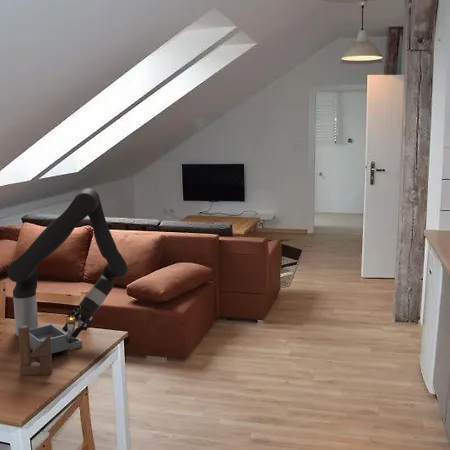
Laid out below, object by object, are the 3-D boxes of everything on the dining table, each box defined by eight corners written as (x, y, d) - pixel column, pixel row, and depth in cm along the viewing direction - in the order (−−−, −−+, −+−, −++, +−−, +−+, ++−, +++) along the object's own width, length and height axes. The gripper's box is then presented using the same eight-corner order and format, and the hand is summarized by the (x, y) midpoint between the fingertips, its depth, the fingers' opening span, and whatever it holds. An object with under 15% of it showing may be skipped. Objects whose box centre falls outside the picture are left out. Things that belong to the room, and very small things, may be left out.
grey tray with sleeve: (25, 351, 207) (24, 330, 206) (71, 338, 220) (69, 319, 218) (40, 363, 196) (39, 342, 195) (87, 349, 209) (86, 329, 207)
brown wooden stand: (50, 374, 188) (47, 327, 184) (19, 376, 187) (16, 328, 183) (52, 370, 191) (49, 323, 188) (22, 371, 190) (19, 324, 187)
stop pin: (65, 346, 213) (64, 318, 211) (74, 343, 215) (73, 316, 213) (70, 349, 210) (68, 321, 208) (79, 346, 212) (77, 318, 210)
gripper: (79, 292, 219) (54, 324, 214) (95, 300, 209) (69, 334, 203) (91, 301, 224) (67, 333, 218) (107, 309, 213) (83, 343, 208)
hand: (68, 333), depth 211 cm, fingers open, 8 cm apart
